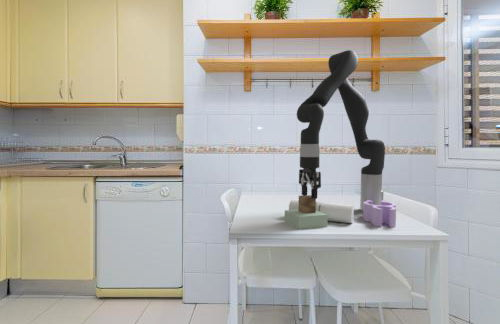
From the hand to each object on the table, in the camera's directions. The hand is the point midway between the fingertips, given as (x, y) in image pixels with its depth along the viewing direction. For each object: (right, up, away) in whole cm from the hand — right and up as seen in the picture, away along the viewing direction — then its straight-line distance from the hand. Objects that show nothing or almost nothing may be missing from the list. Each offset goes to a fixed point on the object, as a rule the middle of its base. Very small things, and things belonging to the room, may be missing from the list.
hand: (309, 196), depth 126 cm
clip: (+30, -11, +4) cm, 32 cm away
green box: (-2, -11, -2) cm, 11 cm away
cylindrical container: (-6, -6, +10) cm, 13 cm away
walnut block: (-1, -6, -1) cm, 6 cm away
